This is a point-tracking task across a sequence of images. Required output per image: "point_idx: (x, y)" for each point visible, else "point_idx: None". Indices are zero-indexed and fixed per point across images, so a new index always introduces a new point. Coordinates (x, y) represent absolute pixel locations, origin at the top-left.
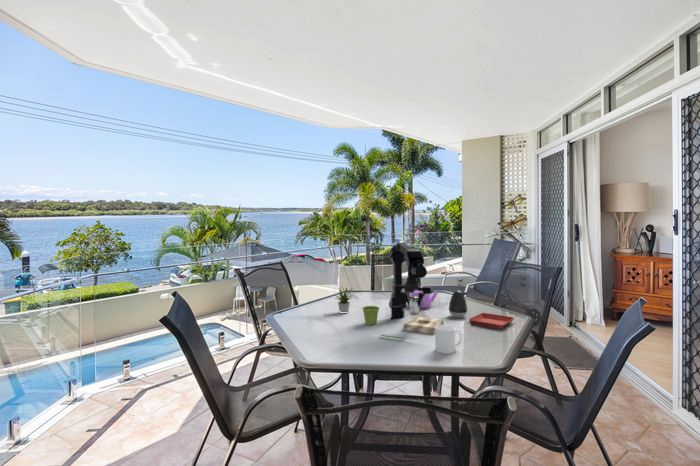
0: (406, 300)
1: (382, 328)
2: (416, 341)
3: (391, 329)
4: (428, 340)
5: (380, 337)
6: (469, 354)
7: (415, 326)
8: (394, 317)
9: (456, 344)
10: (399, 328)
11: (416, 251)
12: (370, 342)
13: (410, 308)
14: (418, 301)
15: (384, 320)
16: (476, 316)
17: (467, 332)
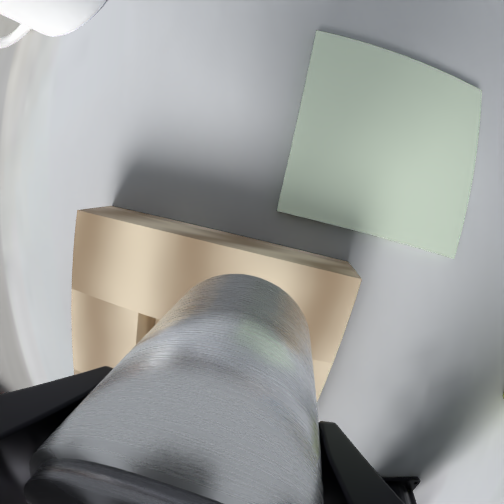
0: (390, 490)
1: (485, 307)
2: (220, 58)
3: (435, 301)
4: (143, 104)
5: (471, 87)
6: (11, 21)
7: (238, 247)
8: (399, 487)
9: (19, 27)
10: (380, 339)
11: None
12: (484, 20)
13: (280, 331)
14: (52, 411)
15: (452, 450)
16: None
17: (3, 313)
